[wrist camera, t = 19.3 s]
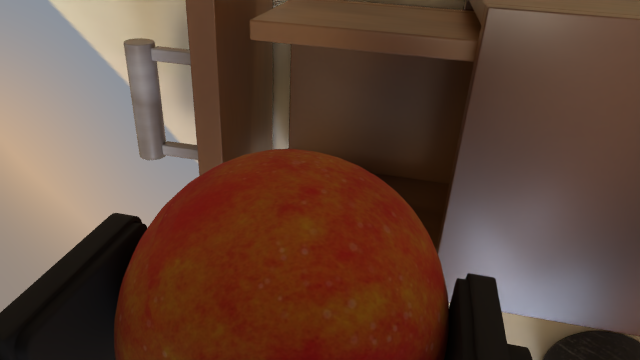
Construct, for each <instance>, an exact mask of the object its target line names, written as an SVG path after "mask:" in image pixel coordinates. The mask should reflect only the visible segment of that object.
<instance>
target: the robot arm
mask: <svg viewBox="0 0 640 360" xmlns="http://www.w3.org/2000/svg"><path fill="white" fill-rule="evenodd" d="M146 230H147V226H146V225H145V224H142V222H141V219H140V218H139V217H137V216H131V215H125V214H119V213H114V214H112V215H110V216H109V217H108V218H107V219H106V220H104V221H103V222H102V223H101V224H100V225H99V226H98V227H97V228H95V230H93V231H92V232H91V233H90V234H89V235H87V236H86V237H85V238H84V239H83V240H82V241H81V242H80V243H78V244H77V245H76V246H75V247H74V248H73V249H72V250H71V251H70V252H68V253H67V254H66V255H65V256H64V257H63V258H62V259H60V260H59V261H58V262H57V263H56V264H55V265H54V266H52V267H51V268H50V269H49V270H48V271H47V272H46V273H45V274H43V275H42V276H41V277H40V278H39V279H38V280H37V281H36V282H34V283H33V284H32V285H31V286H30V287H29V288H28V289H27V290H26V291H24V292H23V293H22V294H21V295H20V296H19V297H18V298H16V299H15V300H14V301H13V302H12V303H11V304H10V305H8V306H7V307H6V308H5V309H4V310H3V311H2V312H1V313H0V360H116V359H115V349H114V321H115V313H116V308H117V302H118V297H119V292H120V287H121V284H122V280H123V277H124V275H125V272H126V270H127V267H128V265H129V262H130V260H131V258H132V255H133V253H134V251H135V249H136V247H137V244H138V242H139V241H140V239H141V237H142V236H143V234H144V233H145V231H146ZM444 360H532V356H531V353H530V351H529V349H528V348H527V347H521V346H516V345H511V344H507V341H506V335H505V329H504V323H503V318H502V312H501V306H500V301H499V295H498V289H497V283H496V279H495V278H494V277H488V276H483V275H477V274H471V273H468V274H467V276H466V278H465V279H460V278H457V279H456V282H455V286H454V290H453V294H452V298H451V302H450V306H449V335H448V343H447V348H446V353H445V358H444Z"/></svg>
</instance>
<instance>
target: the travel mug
mask: <svg viewBox="0 0 640 360" xmlns="http://www.w3.org/2000/svg"><path fill="white" fill-rule="evenodd" d="M543 360H640V343H639V342H637V341H636V340H634V339H632V338H630V337H627V336H625V335H621V334H618V333H613V332H605V331H592V332H584V333H579V334H575V335H572V336H569V337H567V338H565V339H563V340H561V341H559V342H558V343H556V344H555V345H554V346H553V347H551V348H550V350H549V351H548V352H547V353H546V355H545V357H544V359H543Z"/></svg>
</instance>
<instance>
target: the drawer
mask: <svg viewBox="0 0 640 360" xmlns="http://www.w3.org/2000/svg"><path fill="white" fill-rule="evenodd" d="M186 11H187V24H188V36H189V49H190V50H188V49H178V48H169V47H159V46H156V47H155V42H154V41H153V40H150V39H130V40H126V41H124V49H125V56H126V63H127V70H128V77H129V84H130V91H131V98H132V105H133V112H134V119H135V126H136V132H137V139H138V146H139V154H140V157H141V158H142V159H146V160H157V159H161V158H163V157H165V156H166V155H167V156H174V157H181V158H189V159H195V160H198V162H199V174H200V176H201V175H202V174H204V173H205V172H207V171H209V170H210V169H212V168H214V167H216V166H217V165H219V164H222V163H224V162H227V161H230V160H232V159H235V158H237V157H240V156H243V155H245V154H251V153H256V152H261V151H266V150H272V128H273V42H276V43H286V44H291V67H290V117H289V149H298V150H306V151H314V152H320V153H323V154H327V155H331V156H335V157H338V158H341V159H343V160H346V161H348V162H351V163H353V164H356V165H358V166H360V167H362V168H363V169H365V170H367V171H369V172H370V173H372V174H374V175H375V176H377V177H379V178H380V179H381V180H382V181H384V182H385V183H386V184H388V185H389V186H390V187H391V188H393V189H394V190H395V191H396V192H398V194H399V195H400V196H401V197H402V198H403V199H404V200H405V201H406V202H407V203H408V204H409V205H410V207H411V208H412V209H413V210H414V211H415V213H416V214H417V216H418V218H419V219H420V221H421V222H422V224H423V225H424V227H425V228H426V230H427V232H428V234H429V236H430V238H431V240H432V242H433V245H434V247H435V249H436V248H437V243H438V238H439V233H440V228H441V223H442V218H443V213H444V208H445V203H446V198H447V193H448V188H449V184H450V179H451V174H452V169H453V164H454V159H455V154H456V149H457V144H458V139H459V134H460V129H461V124H462V119H463V115H464V110H465V105H466V100H467V95H468V90H469V85H470V80H471V75H472V70H473V65H474V60H475V55H476V51H477V46H478V41H479V36H480V31H481V24H480V22H479V20H478V18H477V16H476V14H475V12H474V11H468V10H456V9H444V8H432V7H419V6H407V5H395V4H383V3H370V2H358V1H346V0H289V1H287V2H285V3H283V4H281V5H279V6H277V7H275V8H273V0H186ZM157 61H159V62H168V63H177V64H186V65H191V74H192V87H193V99H194V112H195V124H196V137H197V145H191V144H184V143H177V142H169V141H167V142H166V138H165V130H164V121H163V112H162V103H161V94H160V85H159V77H158V68H157Z"/></svg>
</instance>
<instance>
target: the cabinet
mask: <svg viewBox="0 0 640 360" xmlns="http://www.w3.org/2000/svg"><path fill="white" fill-rule="evenodd" d="M464 10H468V11H474V12H475V14H476V16H477V18H478V20H479V22H480V24H481V31H480V36H479V41H478V46H477V51H476V55H475V60H474V65H473V70H472V75H471V80H470V85H469V90H468V95H467V100H466V105H465V110H464V115H463V119H462V124H461V129H460V134H459V139H458V144H457V149H456V154H455V159H454V164H453V169H452V174H451V179H450V184H449V188H448V193H447V198H446V203H445V208H444V213H443V218H442V223H441V228H440V233H439V238H438V243H437V248H436V252H437V254H438V257H439V259H440V262H441V266H442V270H443V274H444V279H445V283H446V288H447V292H448V301H449V303H450V302H451V298H452V294H453V290H454V286H455V282H456V279H457V278H460V279H465V278H466V276H467V274H468V273H471V274H477V275H483V276H488V277H494V278H495V279H496V283H497V289H498V295H499V301H500V306H501V312H505V313H510V314H516V315H522V316H527V317H533V318H539V319H544V320H550V321H556V322H561V323H567V324H573V325H578V326H584V327H590V328H595V329H601V330H607V331H612V332H618V333H624V334H629V335H635V336H640V0H465V4H464Z"/></svg>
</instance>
